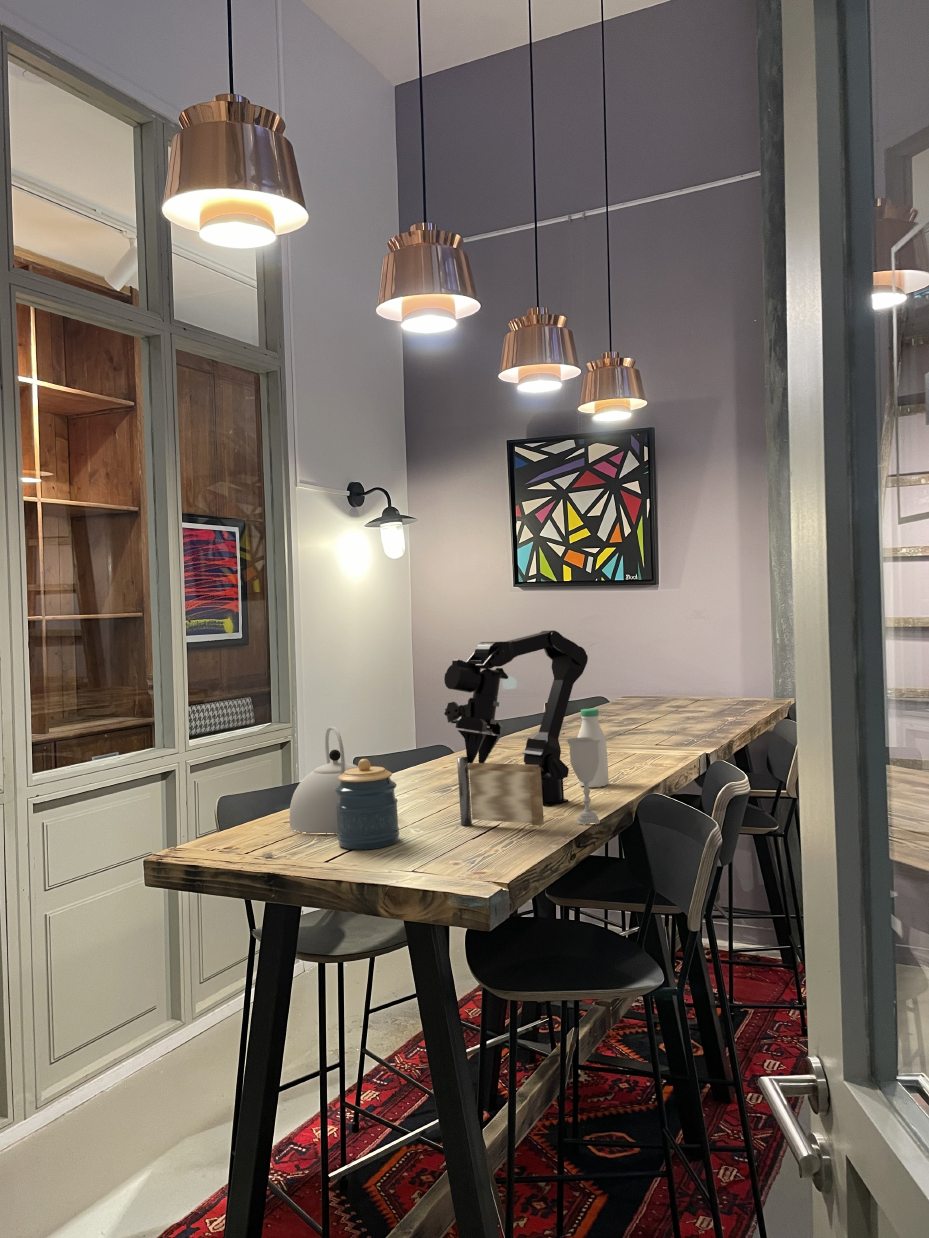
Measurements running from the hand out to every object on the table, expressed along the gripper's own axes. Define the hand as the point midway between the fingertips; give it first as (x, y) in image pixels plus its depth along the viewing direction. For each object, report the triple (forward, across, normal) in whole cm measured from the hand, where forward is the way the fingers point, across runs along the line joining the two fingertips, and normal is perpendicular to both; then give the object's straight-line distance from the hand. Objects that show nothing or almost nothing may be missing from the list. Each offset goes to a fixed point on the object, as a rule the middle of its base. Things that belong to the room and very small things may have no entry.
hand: (475, 763), depth 208 cm
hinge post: (+13, +3, +1) cm, 14 cm away
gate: (+11, +6, +11) cm, 16 cm away
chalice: (+9, 0, +27) cm, 29 cm away
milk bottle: (+2, -40, +21) cm, 45 cm away
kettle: (+18, +2, -31) cm, 36 cm away
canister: (+19, +20, -15) cm, 31 cm away
